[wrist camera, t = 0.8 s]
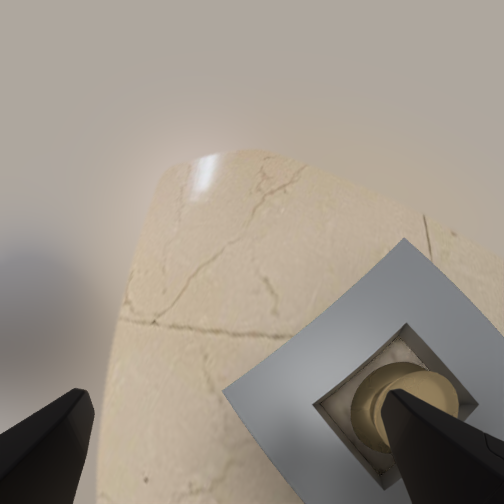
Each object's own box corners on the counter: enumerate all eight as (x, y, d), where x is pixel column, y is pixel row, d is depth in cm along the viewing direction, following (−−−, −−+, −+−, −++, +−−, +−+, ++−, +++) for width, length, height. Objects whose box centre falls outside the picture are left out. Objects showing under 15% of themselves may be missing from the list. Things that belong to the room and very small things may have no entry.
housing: (521, 396, 14) (547, 393, 11) (361, 540, 13) (360, 563, 10) (398, 262, 23) (404, 237, 19) (242, 393, 22) (221, 390, 19)
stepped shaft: (446, 405, 16) (505, 405, 8) (382, 462, 16) (400, 505, 8) (397, 350, 20) (425, 314, 11) (334, 404, 19) (318, 409, 11)
